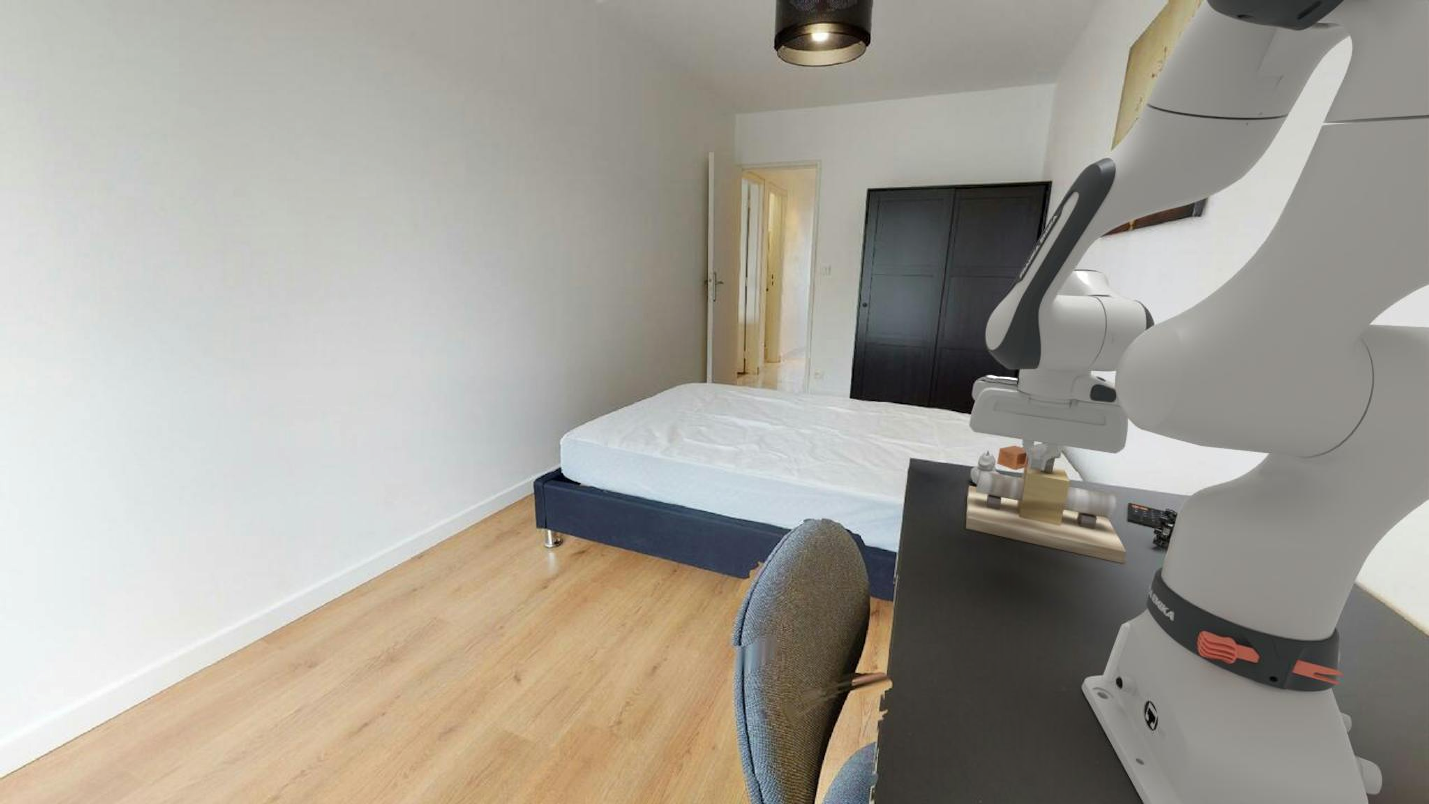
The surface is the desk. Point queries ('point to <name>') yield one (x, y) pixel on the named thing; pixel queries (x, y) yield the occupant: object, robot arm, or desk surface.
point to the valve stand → (1045, 512)
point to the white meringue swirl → (984, 466)
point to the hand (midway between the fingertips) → (1034, 468)
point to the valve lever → (1022, 455)
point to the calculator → (1144, 515)
